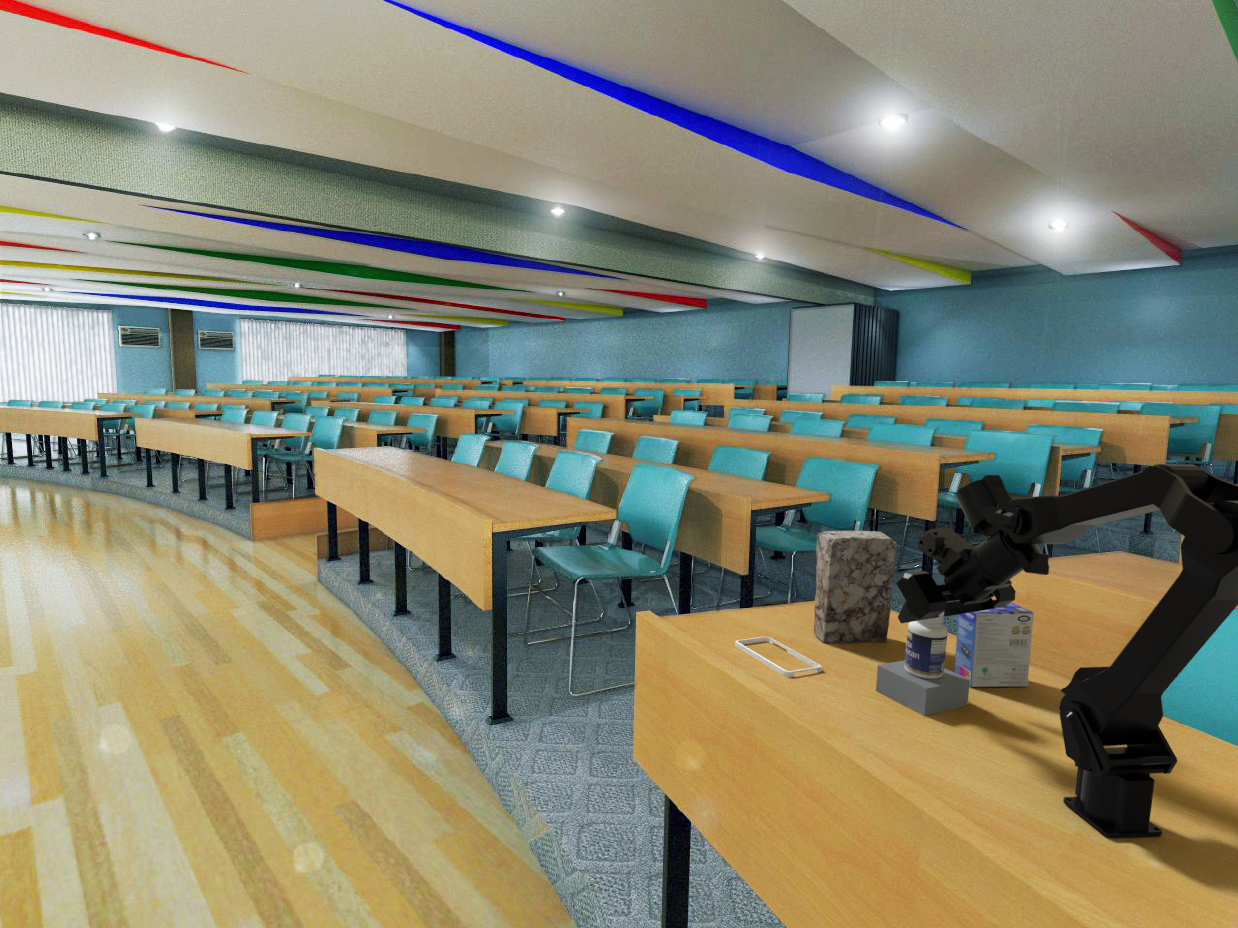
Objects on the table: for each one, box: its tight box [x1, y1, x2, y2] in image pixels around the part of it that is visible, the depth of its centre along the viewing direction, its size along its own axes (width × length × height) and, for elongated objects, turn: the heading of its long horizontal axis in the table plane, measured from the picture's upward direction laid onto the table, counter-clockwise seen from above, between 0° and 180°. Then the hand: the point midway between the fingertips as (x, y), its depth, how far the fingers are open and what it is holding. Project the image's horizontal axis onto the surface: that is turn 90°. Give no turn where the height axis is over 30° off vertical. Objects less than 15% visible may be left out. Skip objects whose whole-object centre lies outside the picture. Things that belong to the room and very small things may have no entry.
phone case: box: [734, 636, 823, 678], centre depth 119 cm, size 7×1×15 cm
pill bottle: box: [904, 612, 948, 679], centre depth 104 cm, size 5×5×10 cm
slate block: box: [875, 659, 970, 717], centre depth 105 cm, size 9×9×4 cm
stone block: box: [813, 530, 898, 645], centre depth 128 cm, size 13×7×20 cm, turn 103°
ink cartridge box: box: [954, 593, 1034, 688], centre depth 111 cm, size 10×6×14 cm, turn 96°
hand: (919, 617), depth 105 cm, fingers open, 8 cm apart
